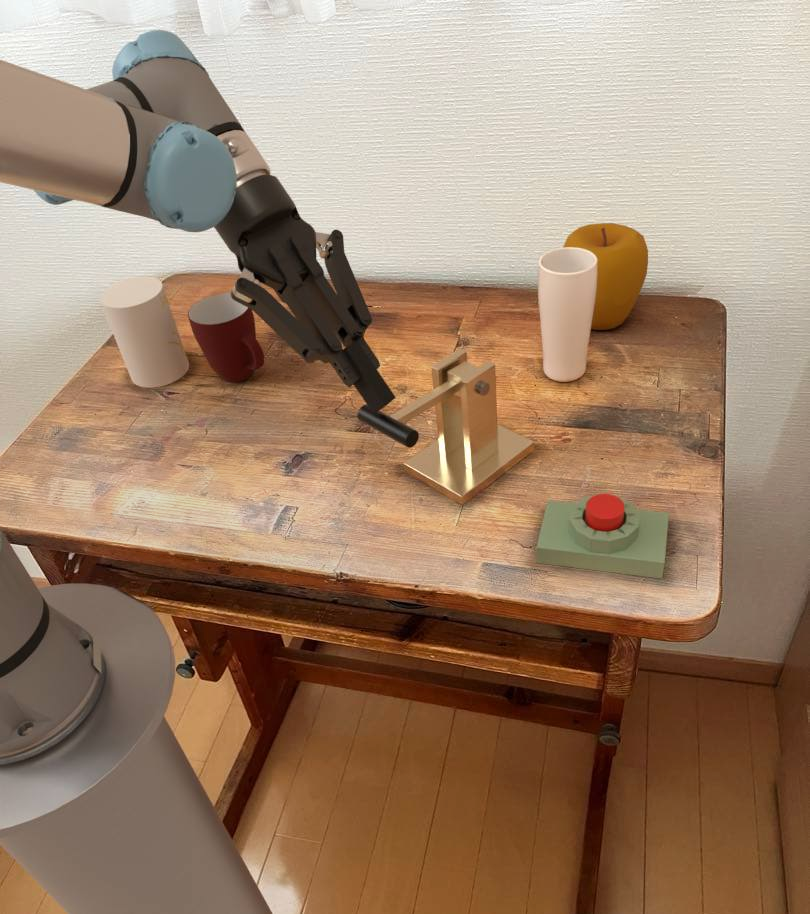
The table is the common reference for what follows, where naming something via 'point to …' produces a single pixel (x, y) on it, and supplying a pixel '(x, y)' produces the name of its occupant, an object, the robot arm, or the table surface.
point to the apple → (613, 269)
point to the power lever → (414, 408)
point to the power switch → (467, 436)
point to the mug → (227, 336)
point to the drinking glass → (566, 310)
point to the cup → (145, 331)
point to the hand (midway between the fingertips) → (384, 405)
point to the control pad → (603, 540)
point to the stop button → (604, 512)
